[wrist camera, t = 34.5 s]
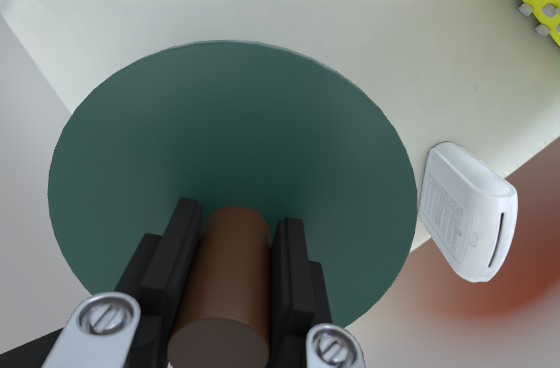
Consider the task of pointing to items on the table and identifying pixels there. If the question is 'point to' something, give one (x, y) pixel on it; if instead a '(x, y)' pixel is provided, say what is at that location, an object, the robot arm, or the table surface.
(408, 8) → the table surface
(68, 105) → the table surface
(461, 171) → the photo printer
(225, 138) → the tin lid
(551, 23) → the yellow toy chassis
